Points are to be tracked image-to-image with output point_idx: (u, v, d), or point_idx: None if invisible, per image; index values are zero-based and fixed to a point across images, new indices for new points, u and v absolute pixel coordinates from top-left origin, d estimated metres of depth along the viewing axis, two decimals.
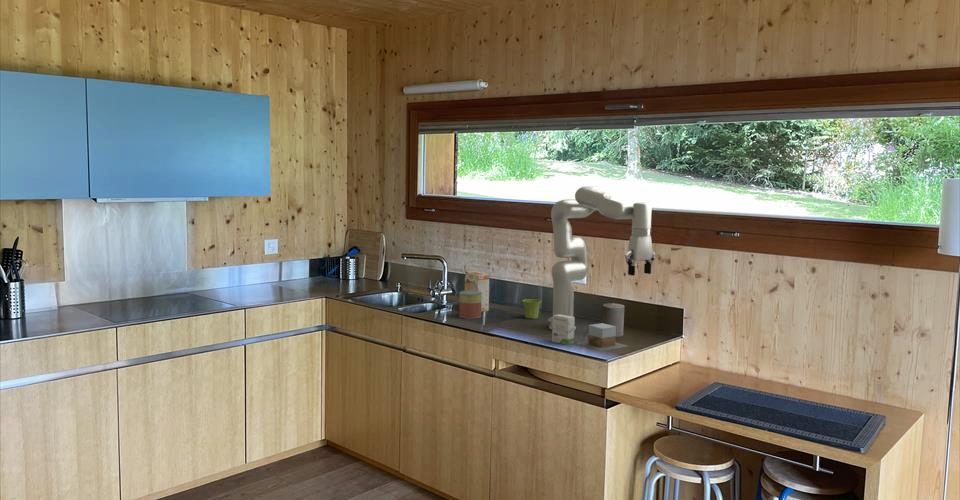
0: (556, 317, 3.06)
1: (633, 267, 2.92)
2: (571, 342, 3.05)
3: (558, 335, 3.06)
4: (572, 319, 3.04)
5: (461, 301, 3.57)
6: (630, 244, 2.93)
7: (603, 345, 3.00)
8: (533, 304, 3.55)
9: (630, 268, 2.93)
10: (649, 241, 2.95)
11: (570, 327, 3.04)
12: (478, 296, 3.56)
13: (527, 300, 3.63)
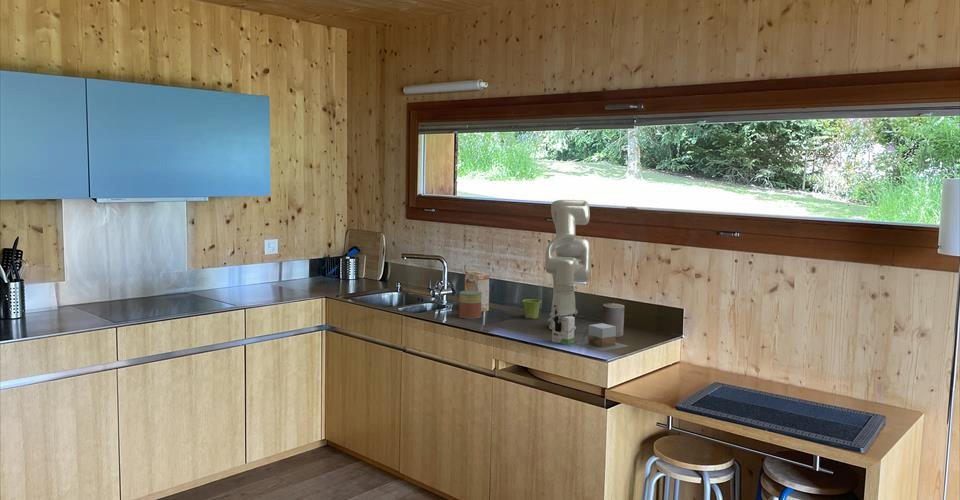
0: None
1: (559, 324, 3.04)
2: (571, 342, 3.05)
3: (558, 335, 3.06)
4: (572, 319, 3.04)
5: (461, 301, 3.57)
6: (553, 300, 3.04)
7: (603, 345, 3.00)
8: (533, 304, 3.55)
9: (556, 325, 3.04)
10: (572, 297, 3.05)
11: (570, 327, 3.04)
12: (478, 296, 3.56)
13: (527, 300, 3.63)
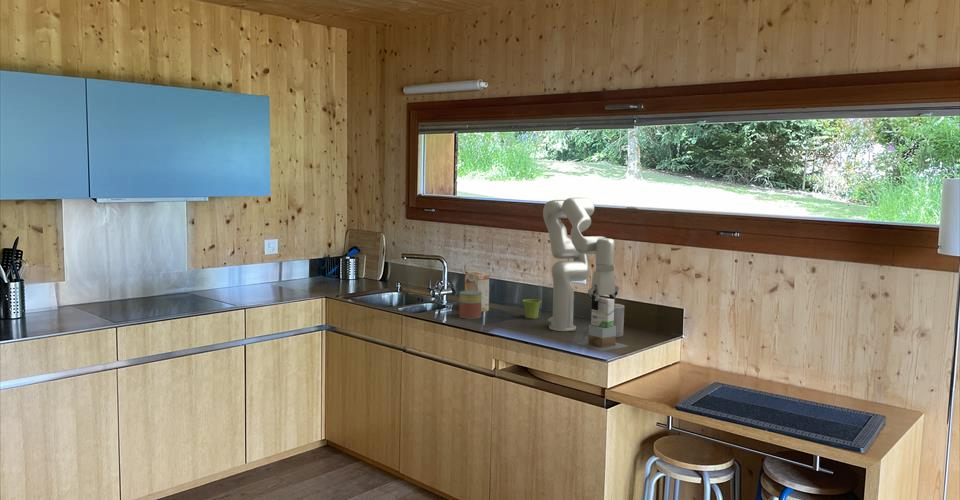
0: None
1: (596, 302, 2.99)
2: (611, 325, 3.01)
3: (598, 317, 3.02)
4: (612, 301, 3.00)
5: (461, 301, 3.57)
6: (593, 279, 3.00)
7: (603, 345, 3.00)
8: (533, 304, 3.55)
9: (593, 303, 2.99)
10: (612, 276, 3.01)
11: (610, 309, 3.00)
12: (478, 296, 3.56)
13: (527, 300, 3.63)
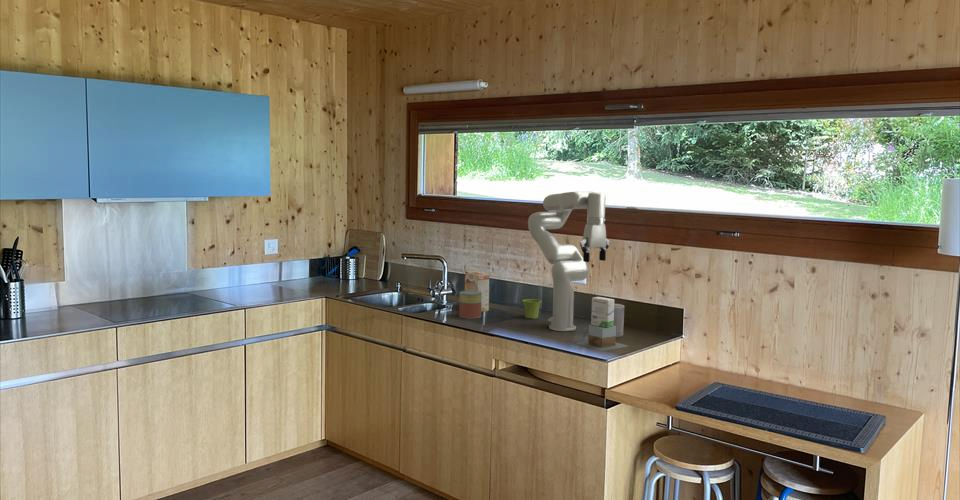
0: (595, 299, 3.03)
1: (588, 254, 3.09)
2: (611, 325, 3.01)
3: (598, 317, 3.02)
4: (612, 301, 3.00)
5: (461, 301, 3.57)
6: (585, 232, 3.10)
7: (603, 345, 3.00)
8: (533, 304, 3.55)
9: (585, 255, 3.09)
10: (603, 229, 3.11)
11: (610, 309, 3.00)
12: (478, 296, 3.56)
13: (527, 300, 3.63)
